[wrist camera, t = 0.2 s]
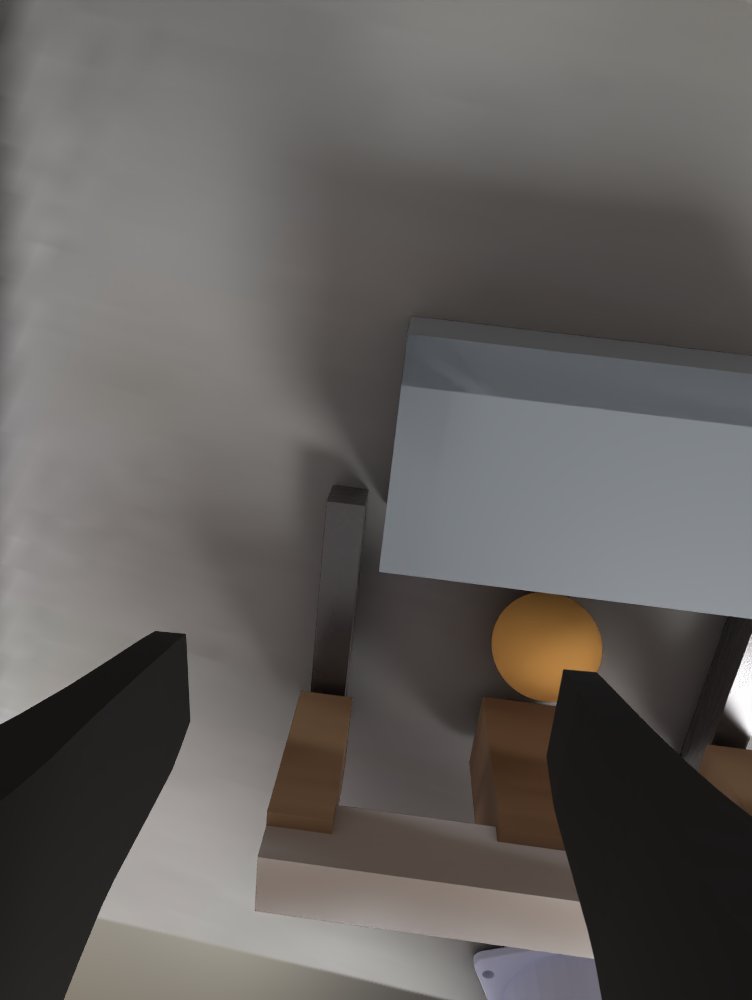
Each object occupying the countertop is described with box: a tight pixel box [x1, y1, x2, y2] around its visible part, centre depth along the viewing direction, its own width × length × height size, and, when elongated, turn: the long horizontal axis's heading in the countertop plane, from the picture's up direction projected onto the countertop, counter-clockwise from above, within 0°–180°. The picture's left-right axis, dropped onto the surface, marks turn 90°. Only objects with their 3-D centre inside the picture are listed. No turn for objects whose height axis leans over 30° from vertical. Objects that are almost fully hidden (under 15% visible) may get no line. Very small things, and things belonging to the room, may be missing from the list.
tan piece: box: [255, 691, 752, 959], centre depth 20 cm, size 3×16×7 cm, turn 84°
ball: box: [492, 592, 602, 702], centre depth 21 cm, size 4×4×4 cm
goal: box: [379, 316, 752, 619], centre depth 18 cm, size 6×11×5 cm, turn 84°
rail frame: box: [311, 485, 752, 771], centre depth 22 cm, size 10×15×2 cm, turn 84°
